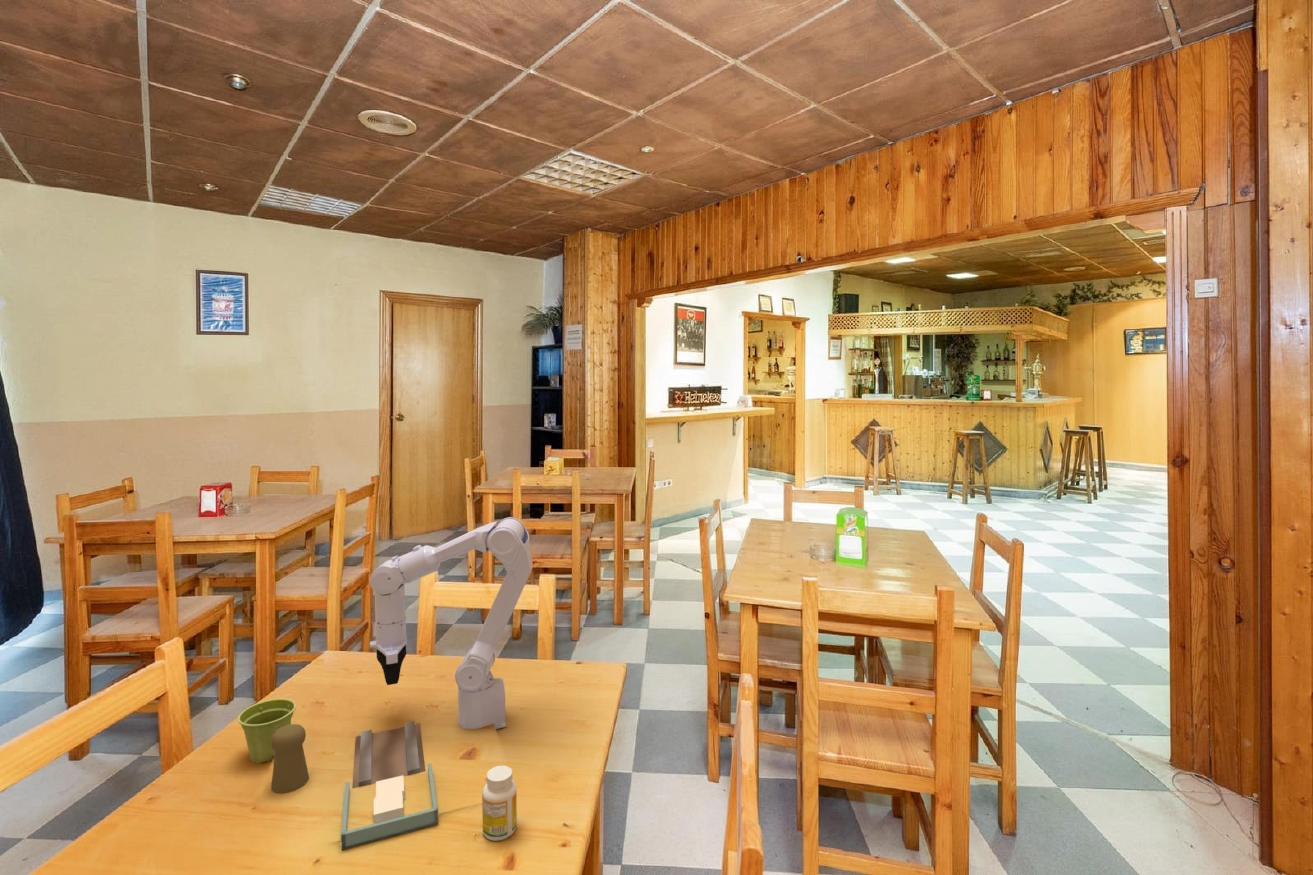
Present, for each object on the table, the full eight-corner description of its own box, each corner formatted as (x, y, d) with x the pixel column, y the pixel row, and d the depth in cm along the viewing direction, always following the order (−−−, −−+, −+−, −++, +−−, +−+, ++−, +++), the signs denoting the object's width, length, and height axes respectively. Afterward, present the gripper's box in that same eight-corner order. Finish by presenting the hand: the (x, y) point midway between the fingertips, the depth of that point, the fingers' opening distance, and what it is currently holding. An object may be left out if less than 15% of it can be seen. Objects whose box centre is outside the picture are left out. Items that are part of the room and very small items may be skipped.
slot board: (420, 728, 127) (419, 719, 127) (425, 776, 111) (425, 766, 111) (355, 741, 122) (355, 732, 122) (352, 793, 106) (352, 783, 106)
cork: (292, 801, 104) (289, 740, 103) (261, 796, 105) (259, 736, 104) (318, 779, 110) (315, 721, 109) (289, 775, 111) (287, 717, 110)
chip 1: (403, 787, 108) (403, 775, 108) (404, 802, 104) (404, 790, 104) (376, 793, 106) (376, 781, 106) (376, 809, 102) (375, 797, 102)
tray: (431, 776, 111) (431, 763, 111) (438, 824, 99) (437, 809, 99) (345, 796, 106) (345, 782, 105) (341, 850, 94) (341, 835, 93)
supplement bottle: (495, 847, 95) (494, 788, 94) (475, 830, 98) (474, 774, 97) (523, 828, 99) (523, 772, 98) (503, 813, 102) (503, 758, 101)
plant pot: (308, 747, 120) (306, 705, 119) (260, 775, 111) (258, 729, 111) (277, 735, 124) (276, 694, 123) (228, 761, 115) (226, 717, 114)
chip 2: (402, 803, 104) (402, 790, 103) (403, 820, 100) (403, 807, 99) (374, 810, 102) (373, 797, 102) (373, 827, 98) (373, 814, 98)
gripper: (369, 610, 130) (371, 671, 132) (368, 635, 117) (370, 703, 118) (405, 605, 133) (406, 665, 135) (408, 630, 120) (409, 696, 121)
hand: (392, 682), depth 127 cm, fingers closed
